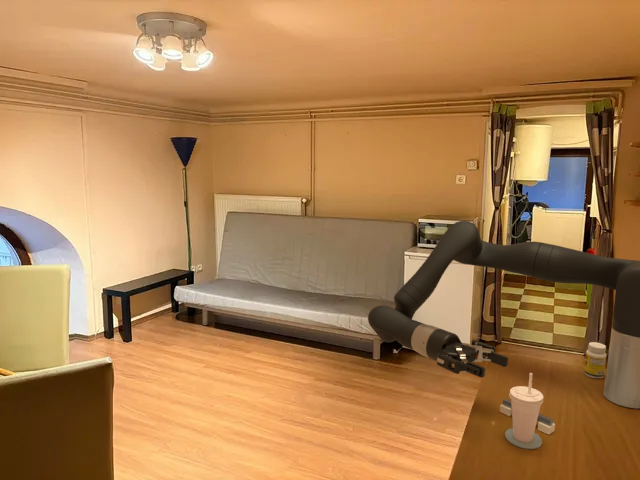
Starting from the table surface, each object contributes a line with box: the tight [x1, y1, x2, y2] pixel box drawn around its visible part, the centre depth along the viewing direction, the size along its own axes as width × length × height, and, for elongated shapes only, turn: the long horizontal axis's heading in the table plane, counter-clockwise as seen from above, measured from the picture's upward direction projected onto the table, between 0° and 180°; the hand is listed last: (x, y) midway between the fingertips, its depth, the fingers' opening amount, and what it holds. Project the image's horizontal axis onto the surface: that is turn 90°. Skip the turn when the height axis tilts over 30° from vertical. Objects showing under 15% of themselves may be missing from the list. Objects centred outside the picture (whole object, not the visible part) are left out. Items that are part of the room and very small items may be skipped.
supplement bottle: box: [583, 341, 607, 379], centre depth 130 cm, size 5×5×8 cm
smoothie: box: [508, 372, 544, 442], centre depth 100 cm, size 6×6×14 cm
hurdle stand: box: [499, 403, 556, 435], centre depth 108 cm, size 11×2×2 cm, turn 38°
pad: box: [504, 427, 543, 450], centre depth 101 cm, size 7×7×1 cm
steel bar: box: [502, 398, 554, 426], centre depth 108 cm, size 11×1×1 cm, turn 38°
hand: (495, 367), depth 105 cm, fingers open, 8 cm apart
